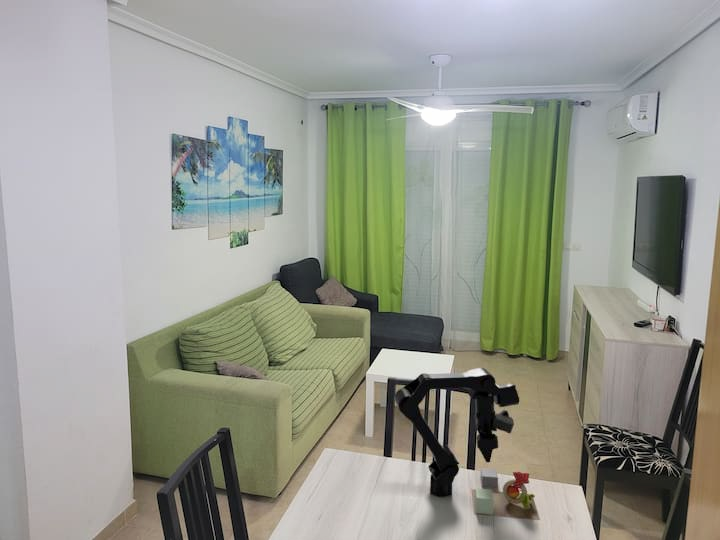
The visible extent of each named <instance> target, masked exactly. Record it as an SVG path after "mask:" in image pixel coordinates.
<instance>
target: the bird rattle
mask: <svg viewBox="0 0 720 540" xmlns="http://www.w3.org/2000/svg"><path fill="white" fill-rule="evenodd" d="M512 475H513V477H514V478H515V479H509V480H507V481H506V482H504V484H503V487H502V492H503V493H504V496H505V498H506V499H507V500H508V503H509V504H510V503H514V504H519V503H524V508H525V509H527V508H528V509H529V508H530V505H529V500H532V497H533V498H535V496H536V495H535V494H533V493H528V490H527V487H526V485H527V484H529V483H530V481H529V477H530V473H527V472H525V473H524V472H521V471H513V472H512ZM520 493H521V495H520V497H519V498H517V497H518V496H519V494H520ZM527 494H529V495H527Z"/></svg>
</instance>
